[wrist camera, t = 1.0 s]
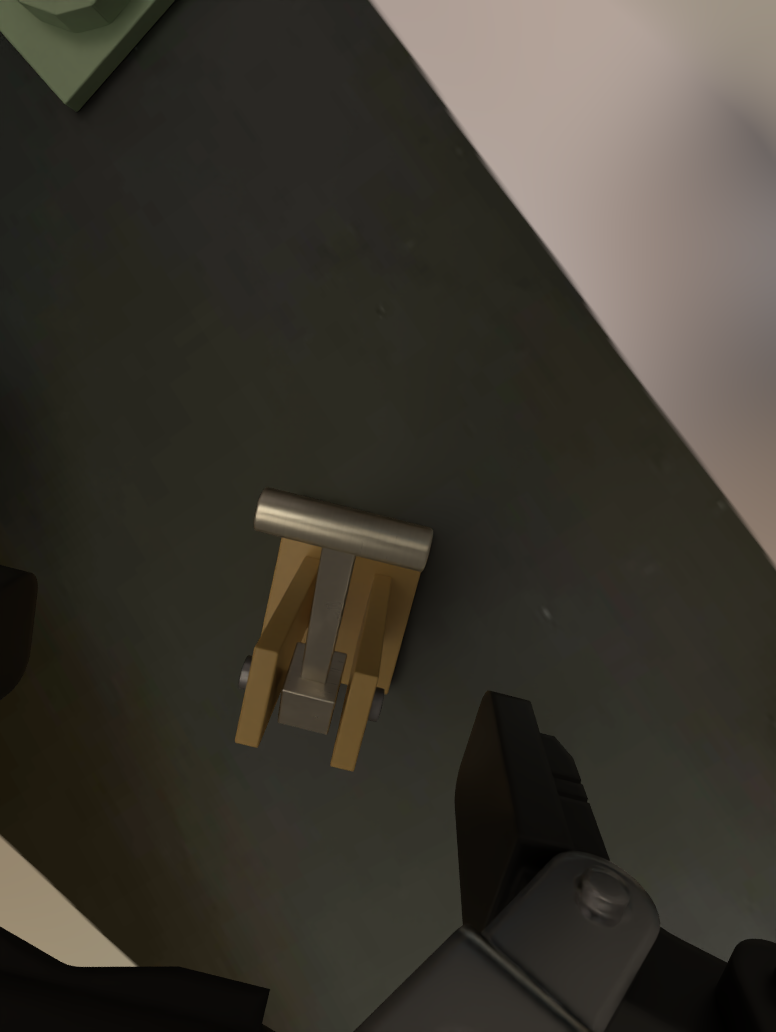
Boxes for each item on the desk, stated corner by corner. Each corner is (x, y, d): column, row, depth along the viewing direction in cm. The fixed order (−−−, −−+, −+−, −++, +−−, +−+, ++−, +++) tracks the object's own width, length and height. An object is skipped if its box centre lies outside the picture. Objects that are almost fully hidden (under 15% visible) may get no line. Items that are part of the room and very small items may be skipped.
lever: (271, 467, 21) (248, 518, 19) (437, 509, 21) (428, 563, 20) (256, 666, 30) (239, 714, 28) (374, 695, 30) (364, 745, 28)
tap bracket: (293, 496, 37) (229, 571, 25) (430, 531, 37) (434, 622, 25) (259, 653, 40) (186, 791, 27) (388, 684, 40) (373, 837, 27)
